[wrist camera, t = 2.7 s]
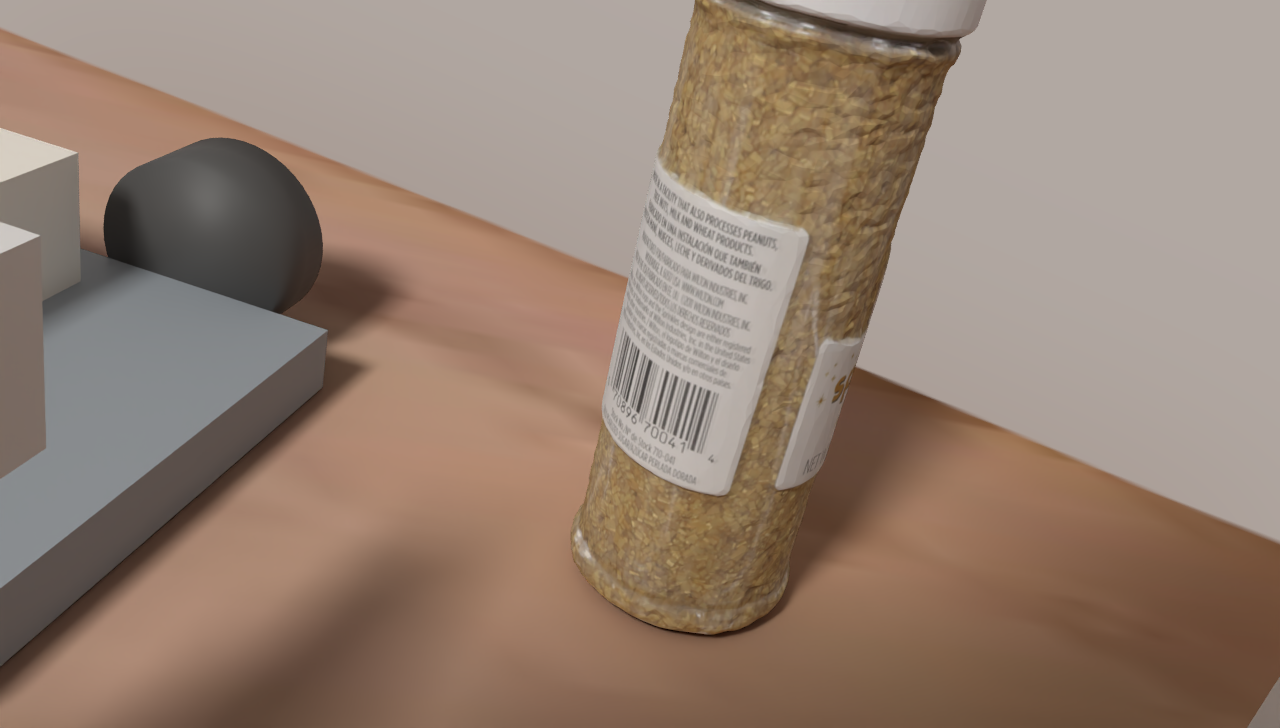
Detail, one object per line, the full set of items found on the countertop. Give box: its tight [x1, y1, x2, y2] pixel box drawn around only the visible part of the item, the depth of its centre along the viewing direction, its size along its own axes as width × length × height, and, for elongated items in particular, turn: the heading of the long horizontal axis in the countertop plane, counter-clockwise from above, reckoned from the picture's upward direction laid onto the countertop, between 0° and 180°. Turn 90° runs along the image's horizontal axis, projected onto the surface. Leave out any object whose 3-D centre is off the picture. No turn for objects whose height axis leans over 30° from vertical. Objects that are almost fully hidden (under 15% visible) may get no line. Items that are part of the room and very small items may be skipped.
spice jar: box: [571, 0, 986, 634], centre depth 21 cm, size 5×5×13 cm
